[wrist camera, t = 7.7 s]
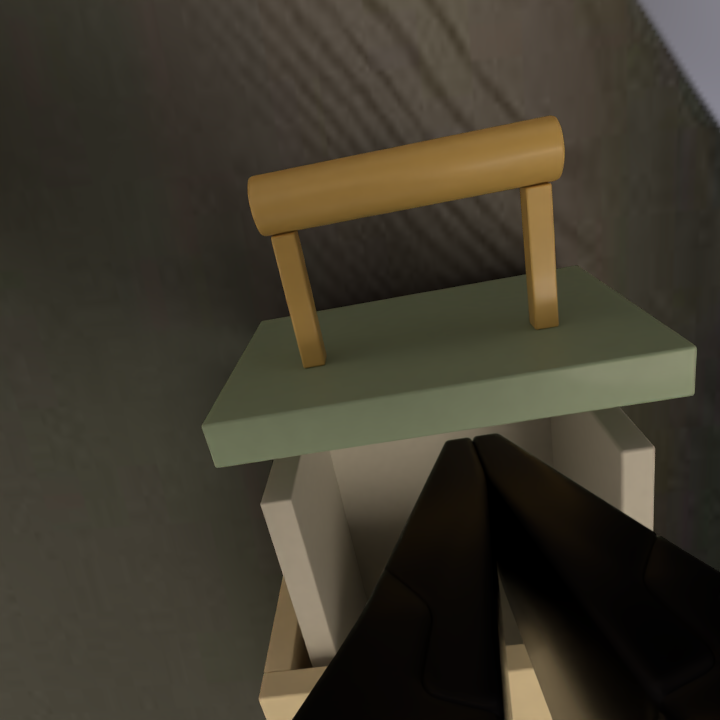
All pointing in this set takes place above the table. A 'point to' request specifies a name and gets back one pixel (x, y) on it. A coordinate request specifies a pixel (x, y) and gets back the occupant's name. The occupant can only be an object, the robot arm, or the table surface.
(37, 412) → the table surface
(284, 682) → the small drawer cabinet
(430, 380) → the green drawer
